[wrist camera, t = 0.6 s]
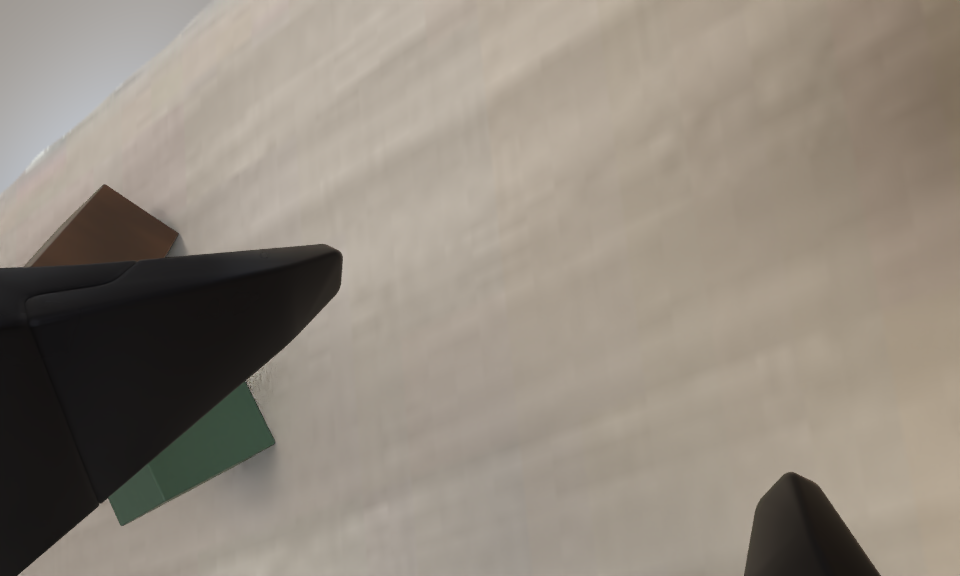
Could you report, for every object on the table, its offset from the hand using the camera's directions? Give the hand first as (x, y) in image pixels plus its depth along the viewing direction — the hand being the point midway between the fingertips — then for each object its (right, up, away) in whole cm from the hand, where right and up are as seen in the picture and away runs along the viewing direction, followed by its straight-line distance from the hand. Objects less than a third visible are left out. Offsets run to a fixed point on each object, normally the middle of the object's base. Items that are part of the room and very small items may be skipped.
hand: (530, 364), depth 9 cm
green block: (-16, -5, +20) cm, 26 cm away
